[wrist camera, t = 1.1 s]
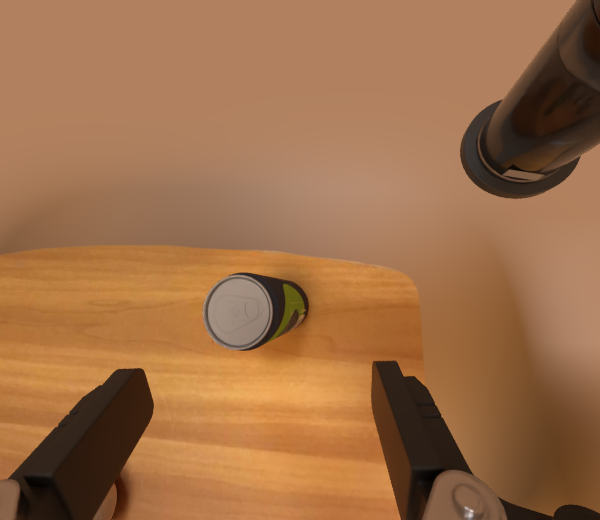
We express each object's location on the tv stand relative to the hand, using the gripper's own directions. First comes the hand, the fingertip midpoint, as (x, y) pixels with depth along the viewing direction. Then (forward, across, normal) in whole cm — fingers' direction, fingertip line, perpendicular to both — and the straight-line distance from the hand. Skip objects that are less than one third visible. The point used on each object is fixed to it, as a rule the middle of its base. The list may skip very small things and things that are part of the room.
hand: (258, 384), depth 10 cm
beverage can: (+25, +1, +10) cm, 27 cm away
